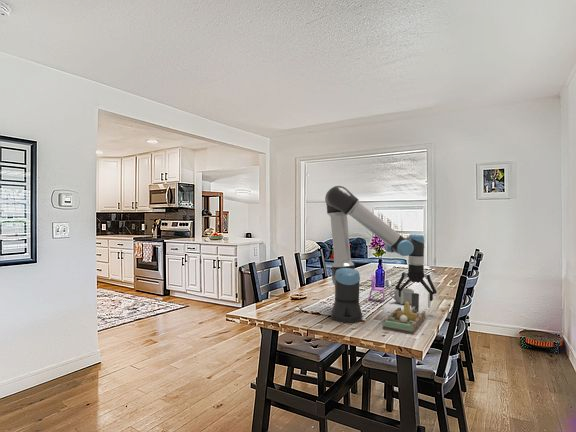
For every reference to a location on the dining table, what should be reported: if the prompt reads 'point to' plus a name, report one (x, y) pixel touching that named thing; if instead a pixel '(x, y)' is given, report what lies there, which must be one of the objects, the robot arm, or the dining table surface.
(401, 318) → the ball
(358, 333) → the dining table surface
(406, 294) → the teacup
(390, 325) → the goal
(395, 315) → the tray
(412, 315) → the kicker
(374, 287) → the chair
